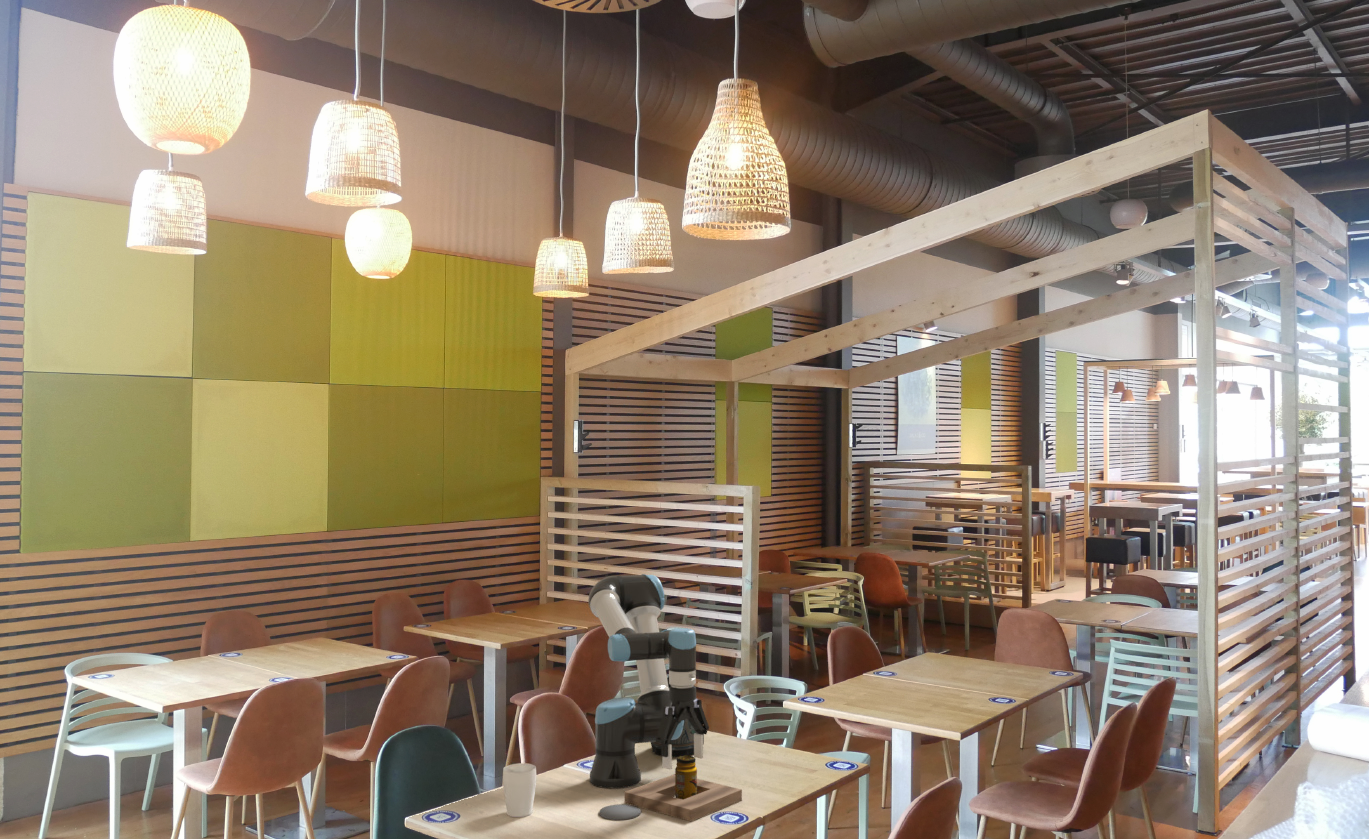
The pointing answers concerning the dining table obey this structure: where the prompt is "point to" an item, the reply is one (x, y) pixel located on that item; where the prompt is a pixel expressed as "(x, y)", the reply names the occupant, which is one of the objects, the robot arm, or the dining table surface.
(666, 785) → the holder board
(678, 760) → the condiment
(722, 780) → the dining table surface
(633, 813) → the coaster
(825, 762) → the dining table surface
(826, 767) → the dining table surface
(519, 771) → the cup
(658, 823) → the dining table surface
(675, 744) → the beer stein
